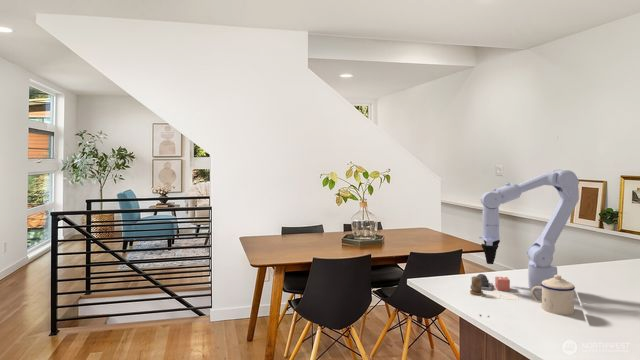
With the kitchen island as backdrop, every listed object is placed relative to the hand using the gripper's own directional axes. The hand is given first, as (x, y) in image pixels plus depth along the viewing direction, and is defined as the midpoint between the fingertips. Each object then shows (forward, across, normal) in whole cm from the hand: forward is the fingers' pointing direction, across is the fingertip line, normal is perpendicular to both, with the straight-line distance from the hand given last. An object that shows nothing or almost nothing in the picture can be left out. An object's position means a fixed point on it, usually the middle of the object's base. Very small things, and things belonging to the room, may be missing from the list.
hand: (490, 261), depth 158 cm
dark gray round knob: (+9, +3, -3) cm, 10 cm away
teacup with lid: (+10, +19, +19) cm, 29 cm away
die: (+9, +3, +4) cm, 10 cm away
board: (+10, +8, +1) cm, 13 cm away
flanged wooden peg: (+9, +12, -4) cm, 15 cm away
